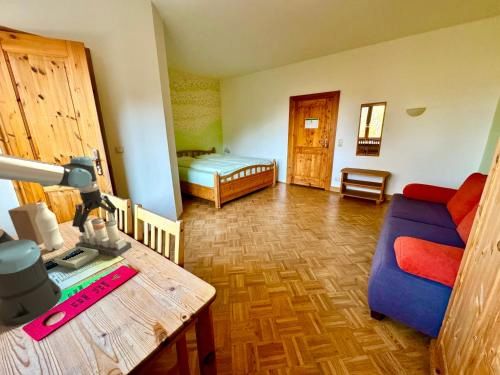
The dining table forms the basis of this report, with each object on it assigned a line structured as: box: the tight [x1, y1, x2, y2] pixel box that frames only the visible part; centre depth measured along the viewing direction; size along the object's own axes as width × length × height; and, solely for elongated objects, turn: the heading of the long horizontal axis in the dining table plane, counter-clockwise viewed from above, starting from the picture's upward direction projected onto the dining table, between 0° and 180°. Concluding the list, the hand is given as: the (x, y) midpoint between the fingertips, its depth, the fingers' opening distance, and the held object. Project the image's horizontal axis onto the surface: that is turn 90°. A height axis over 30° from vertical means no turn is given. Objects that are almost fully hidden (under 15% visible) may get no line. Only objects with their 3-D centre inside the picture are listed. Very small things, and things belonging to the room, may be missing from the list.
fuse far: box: [84, 215, 95, 243], centre depth 103 cm, size 5×5×13 cm
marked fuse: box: [91, 217, 108, 246], centre depth 101 cm, size 5×5×13 cm
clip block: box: [74, 233, 132, 259], centre depth 103 cm, size 9×26×6 cm, turn 73°
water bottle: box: [35, 201, 65, 252], centre depth 101 cm, size 7×7×25 cm
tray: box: [53, 246, 101, 271], centre depth 95 cm, size 10×13×3 cm
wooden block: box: [7, 202, 44, 246], centre depth 110 cm, size 10×10×20 cm
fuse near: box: [104, 219, 121, 249], centre depth 99 cm, size 5×5×13 cm
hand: (100, 230), depth 101 cm, fingers open, 13 cm apart
